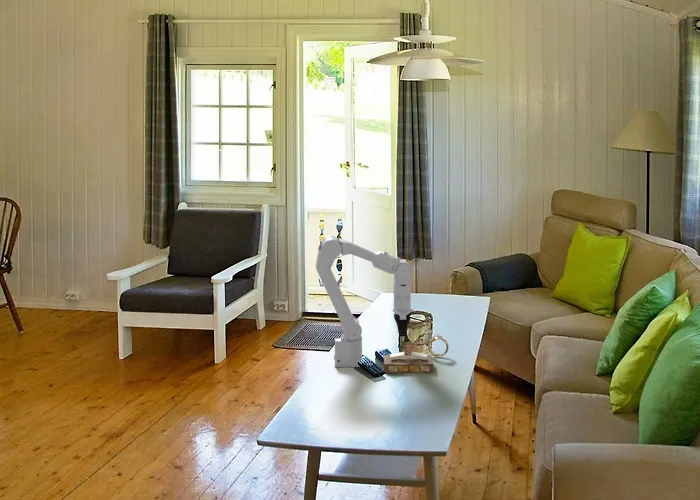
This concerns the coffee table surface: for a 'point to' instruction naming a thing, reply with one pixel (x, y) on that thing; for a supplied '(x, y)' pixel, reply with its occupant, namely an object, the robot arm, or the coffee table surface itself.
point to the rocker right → (419, 355)
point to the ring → (438, 339)
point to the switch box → (408, 365)
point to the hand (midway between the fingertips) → (402, 335)
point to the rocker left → (397, 355)
